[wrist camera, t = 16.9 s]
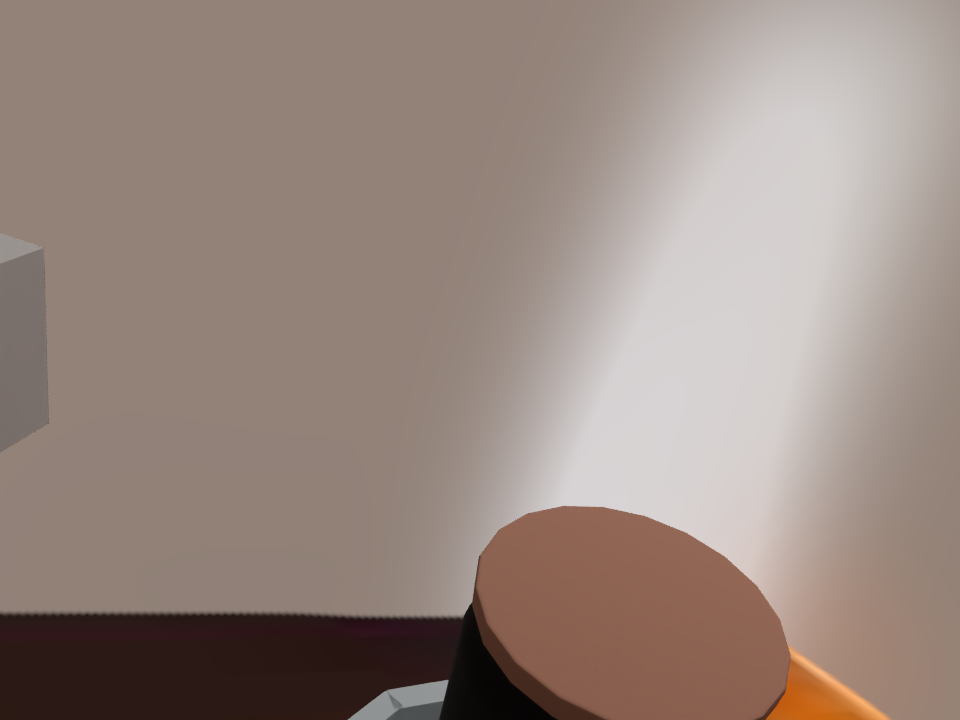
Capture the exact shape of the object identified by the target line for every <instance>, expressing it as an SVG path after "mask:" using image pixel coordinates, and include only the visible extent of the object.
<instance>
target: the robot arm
mask: <svg viewBox="0 0 960 720" xmlns="http://www.w3.org/2000/svg"><path fill="white" fill-rule="evenodd" d="M45 302H46V301H45V267H44V248H43V247H40V246H37V245H34V244H31V243H28V242H25V241H22V240H19V239H16V238H13V237H10V236H7V235H4V234H1V233H0V452H2V451H3V450H5V449H7V448H8V447H10V446H12V445H13V444H15V443H17V442H18V441H20V440H22V439H23V438H25V437H27V436H28V435H30V434H32V433H33V432H35V431H37V430H38V429H40V428H42V427H43V426H45V425H47V424H48V423H49V408H48V375H47V374H48V373H47V338H46V303H45Z"/></svg>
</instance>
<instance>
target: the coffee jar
mask: <svg viewBox="0 0 960 720" xmlns="http://www.w3.org/2000/svg"><path fill="white" fill-rule="evenodd" d="M789 664H790V652H789V648H788V645H787V642H786V638H785V635H784V632H783V628H782V625H781V622H780V619H779V618H778V616H777V615H776V613H775V612H774V610H773V609H772V607H771V606H770V605H769V603H768V601H767V600H766V599H765V597H764V596H763V594H762V593H761V591H760V590H759V589H758V587H757V586H756V585H755V584H754V583H753V582H752V581H751V580H750V579H749V578H747V577H746V576H745V575H744V574H743V573H742V572H741V571H740V570H739V569H738V568H737V567H735V566H734V565H733V564H732V563H731V562H730V561H729V560H728V559H727V558H726V557H724V556H723V555H721V554H720V553H718V552H716V551H715V550H713V549H711V548H710V547H708V546H707V545H705V544H703V543H702V542H700V541H698V540H697V539H695V538H694V537H692V536H690V535H688V534H687V533H685V532H683V531H680V530H678V529H675V528H673V527H670V526H667V525H665V524H663V523H660V522H658V521H655V520H653V519H650V518H648V517H645V516H641V515H637V514H632V513H628V512H623V511H618V510H614V509H609V508H604V507H576V506H562V507H557V508H552V509H547V510H542V511H538V512H533V513H528V514H526V515H524V516H523V517H521V518H519V519H517V520H515V521H514V522H512V523H510V524H508V525H507V526H505V527H503V528H501V529H500V530H499V531H498V532H497V533H496V535H495V536H494V537H493V539H492V540H491V541H490V543H489V544H488V546H487V547H486V548H485V550H484V551H483V552H482V554H481V555H480V556H479V560H478V567H477V574H476V580H475V587H474V594H473V602H472V603H471V605H470V606H469V608H468V610H467V611H466V613H465V615H464V619H463V623H462V627H461V631H460V635H459V639H458V643H457V648H456V652H455V656H454V660H453V664H452V668H451V672H450V676H449V680H448V685H447V689H446V693H445V697H444V701H443V705H442V709H441V713H440V717H439V720H765V719H766V718H767V717H768V716H769V714H770V713H771V712H772V711H773V710H774V708H775V707H776V706H777V704H778V703H779V701H780V699H781V698H782V696H783V695H784V693H785V690H786V684H787V677H788V671H789Z"/></svg>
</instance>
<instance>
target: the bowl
mask: <svg viewBox="0 0 960 720" xmlns="http://www.w3.org/2000/svg"><path fill="white" fill-rule="evenodd" d="M447 685H448V680H445V681H439V682H433V683H427V684H421V685H415V686H409V687H403V688H397V689H391V690H387V691H385V692H383V693H382V694H381V695H380V696H378V697H377V698H376V699H374V700H373V701H372V702H370V703H369V704H368V705H366V706H365V707H364V708H363V709H361V710H360V711H359V712H357V713H356V714H355V715H353V716H352V717H351V718H350V719H348V720H439V717H440V713H441V709H442V705H443V701H444V697H445V693H446V689H447Z"/></svg>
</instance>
